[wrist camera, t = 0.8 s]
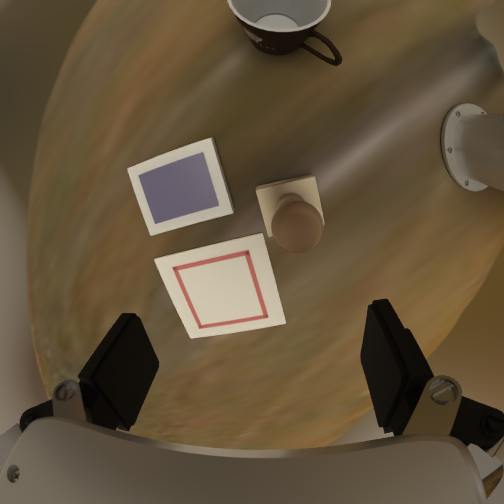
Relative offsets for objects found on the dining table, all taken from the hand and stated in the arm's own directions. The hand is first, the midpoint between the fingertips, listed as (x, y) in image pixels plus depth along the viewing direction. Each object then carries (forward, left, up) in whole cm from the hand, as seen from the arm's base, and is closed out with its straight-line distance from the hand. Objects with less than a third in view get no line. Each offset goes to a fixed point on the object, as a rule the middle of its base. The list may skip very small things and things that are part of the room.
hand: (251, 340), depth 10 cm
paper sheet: (+9, +11, -23) cm, 27 cm away
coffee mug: (-7, -18, -24) cm, 31 cm away
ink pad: (+9, -4, -23) cm, 25 cm away
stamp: (-3, +1, -23) cm, 24 cm away
